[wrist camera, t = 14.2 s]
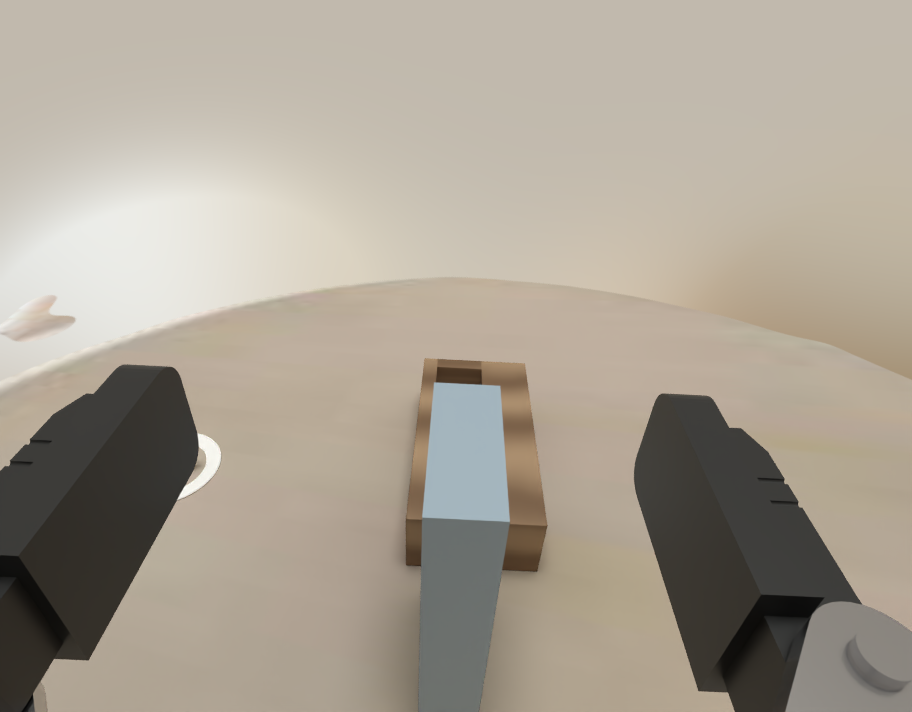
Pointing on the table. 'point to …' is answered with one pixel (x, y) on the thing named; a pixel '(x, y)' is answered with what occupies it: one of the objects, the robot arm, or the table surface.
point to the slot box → (519, 458)
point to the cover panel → (461, 544)
